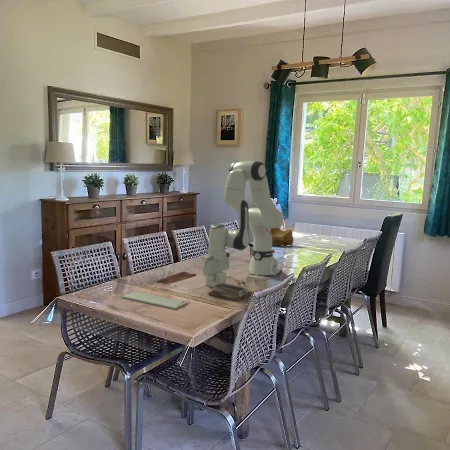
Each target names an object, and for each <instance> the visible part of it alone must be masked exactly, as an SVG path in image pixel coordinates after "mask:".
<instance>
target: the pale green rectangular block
mask: <svg viewBox="0 0 450 450" xmlns="http://www.w3.org/2000/svg"><path fill="white" fill-rule="evenodd" d="M214 277H215V278H216V281H215V282H212V281H211V277H210V276H205V286H207V287H211V288H213V286H214V285H217V284H219V283H223V284H227V272H224V271H222V272H218V273H216V274H215V276H214Z"/></svg>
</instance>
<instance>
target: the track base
mask: <svg viewBox="0 0 450 450" xmlns="http://www.w3.org/2000/svg"><path fill="white" fill-rule="evenodd" d="M251 295H252V291H251V290H250V291H249V288H247V287H242V286H237V285H232V284H227V283H226V284H223V283H219V284H217V285H214V286H213V287H212V290H211V291H209V292H208V296H211V297H215V298H219V299H224V300H229V301H233V302H238V301H240V300H243V299H245V298H247V297H249V296H251Z"/></svg>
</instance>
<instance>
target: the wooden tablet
mask: <svg viewBox="0 0 450 450" xmlns="http://www.w3.org/2000/svg"><path fill="white" fill-rule="evenodd" d="M196 275H197V274H196V273H190V272H188V271H181V272H179V273H175V274H172V275H170V276H167V277H163V278H161V279H158V280H156V281H155V282H156V283H159V284H165V285H166V284H167V285H169V284H170V285H171V284H173V283H177V282H180V281H182V280H185V279H189V278H191V277H195V276H196Z"/></svg>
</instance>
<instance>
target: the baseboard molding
mask: <svg viewBox="0 0 450 450" xmlns="http://www.w3.org/2000/svg"><path fill="white" fill-rule="evenodd" d="M121 298H122V299H126V300H131V301H135V302H139V303H144V304H148V305H153V306H157V307H163V308H167V309H171V310H178V309H180V308H182V307H184V306H187V305H188V304H190V302H189V299H187V300H185V301H184V300H183V301H182V300H177V299H172V298H168V297H163V296H159V295H158V296H157V295H152V294H148V293H142V292H139V291H132V292H129V293H127V294H124V295H121ZM187 301H188V302H187Z"/></svg>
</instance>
